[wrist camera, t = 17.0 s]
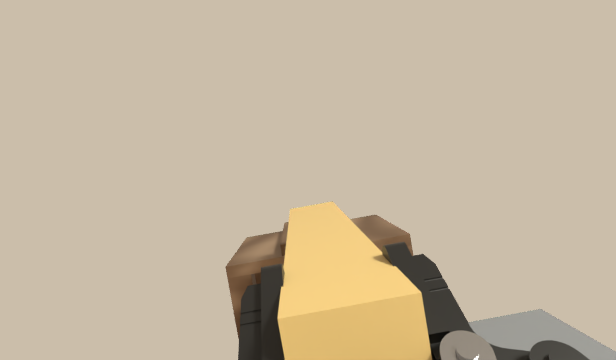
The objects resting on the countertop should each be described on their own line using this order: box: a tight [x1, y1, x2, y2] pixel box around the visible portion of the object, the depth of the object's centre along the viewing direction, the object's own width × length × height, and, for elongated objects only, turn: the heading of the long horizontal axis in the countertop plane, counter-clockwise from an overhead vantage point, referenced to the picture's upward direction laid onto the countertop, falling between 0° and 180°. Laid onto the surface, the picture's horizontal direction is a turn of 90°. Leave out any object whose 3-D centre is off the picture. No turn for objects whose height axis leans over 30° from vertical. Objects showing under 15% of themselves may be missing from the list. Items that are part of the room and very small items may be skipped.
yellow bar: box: [278, 202, 432, 360], centre depth 20 cm, size 4×22×4 cm, turn 2°
